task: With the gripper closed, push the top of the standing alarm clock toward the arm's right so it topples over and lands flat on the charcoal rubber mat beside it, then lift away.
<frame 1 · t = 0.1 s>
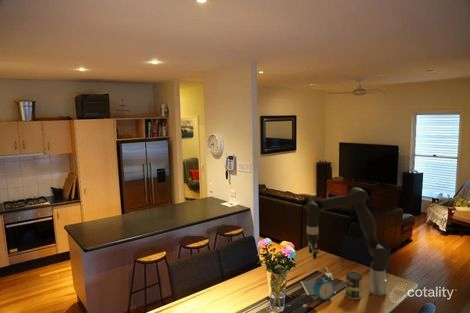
hand: (312, 255, 212), 29 cm above the table, fingers open, 8 cm apart
alarm clock: (323, 298, 214), on the table
mat: (317, 287, 227), on the table
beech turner: (328, 274, 245), on the table
coffee can: (353, 295, 217), on the table
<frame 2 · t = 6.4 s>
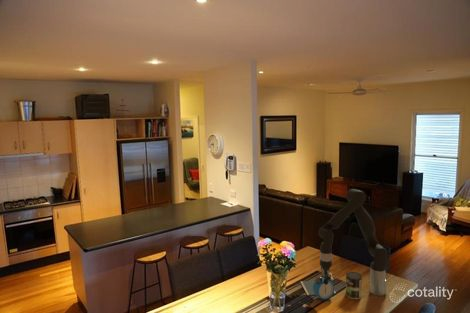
hand: (325, 283, 209), 12 cm above the table, fingers closed
alarm clock: (323, 298, 214), on the table, touching gripper
everything else where it was.
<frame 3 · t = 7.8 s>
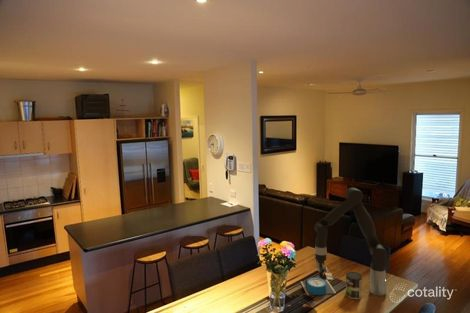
hand: (320, 276, 219), 12 cm above the table, fingers closed
alarm clock: (321, 291, 216), point 3 cm above the table, touching mat
everything else where it was.
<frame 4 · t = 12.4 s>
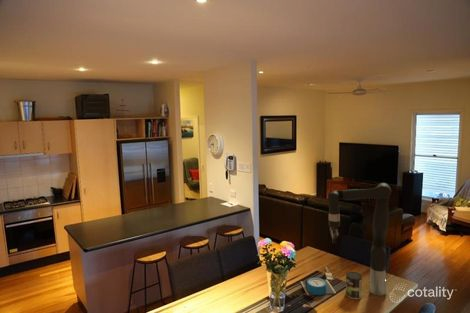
hand: (334, 243, 227), 31 cm above the table, fingers closed
nothing on the table moved.
at the end: alarm clock tilted 89°; alarm clock inside the target area (9.3 cm from its centre), point 3.5 cm above the table; the gripper is holding nothing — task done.
